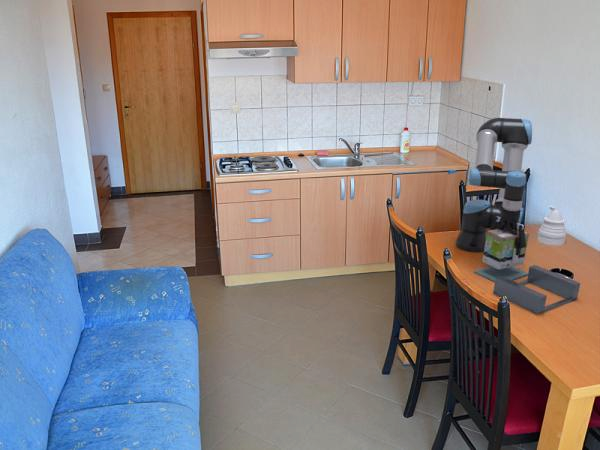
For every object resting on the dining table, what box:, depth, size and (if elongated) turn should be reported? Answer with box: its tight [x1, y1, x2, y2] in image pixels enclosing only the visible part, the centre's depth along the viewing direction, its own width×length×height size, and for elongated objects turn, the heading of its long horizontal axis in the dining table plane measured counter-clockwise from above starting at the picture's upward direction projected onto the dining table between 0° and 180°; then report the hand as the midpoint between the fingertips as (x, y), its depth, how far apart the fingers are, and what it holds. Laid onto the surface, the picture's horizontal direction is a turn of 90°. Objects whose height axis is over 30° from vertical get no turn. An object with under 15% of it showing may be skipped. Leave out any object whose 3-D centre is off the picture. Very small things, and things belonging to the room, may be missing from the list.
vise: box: [492, 264, 581, 315], centre depth 215 cm, size 20×32×7 cm, turn 122°
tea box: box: [482, 229, 530, 269], centre depth 230 cm, size 15×10×15 cm, turn 118°
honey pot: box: [536, 205, 567, 246], centre depth 271 cm, size 13×13×18 cm
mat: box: [473, 265, 529, 283], centre depth 234 cm, size 14×19×1 cm
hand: (503, 257), depth 232 cm, fingers closed on tea box, 10 cm apart
